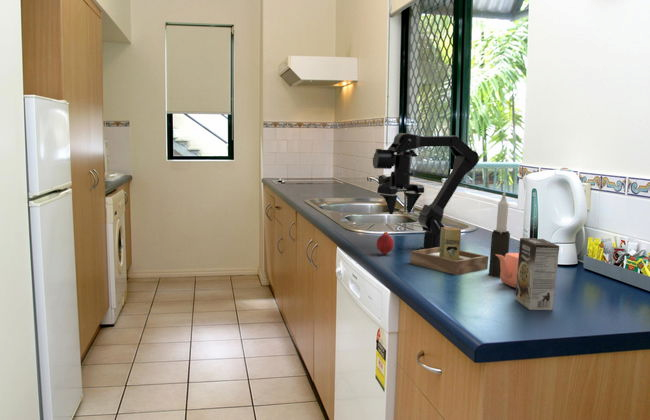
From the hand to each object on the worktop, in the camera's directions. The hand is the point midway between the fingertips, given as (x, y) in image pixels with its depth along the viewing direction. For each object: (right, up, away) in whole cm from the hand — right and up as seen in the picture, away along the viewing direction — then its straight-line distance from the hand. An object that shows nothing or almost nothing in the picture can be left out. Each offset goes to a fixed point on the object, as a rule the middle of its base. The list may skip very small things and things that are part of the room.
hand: (399, 213), depth 217 cm
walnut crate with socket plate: (+13, -17, -22) cm, 31 cm away
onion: (-6, -14, -9) cm, 18 cm away
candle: (+25, -19, -32) cm, 45 cm away
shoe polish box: (+13, -17, -22) cm, 31 cm away
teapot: (+28, -21, -46) cm, 57 cm away
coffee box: (+25, -23, -64) cm, 72 cm away
